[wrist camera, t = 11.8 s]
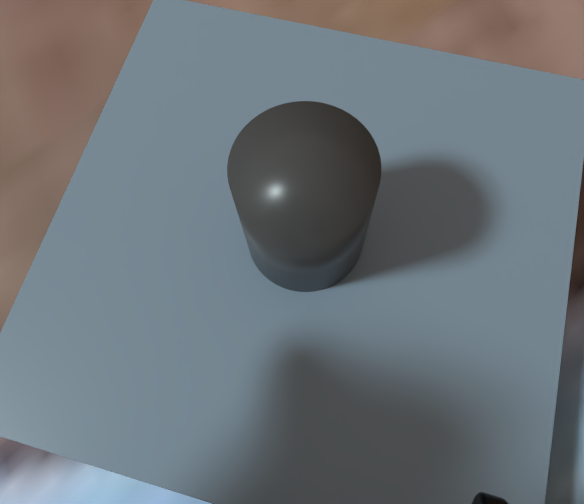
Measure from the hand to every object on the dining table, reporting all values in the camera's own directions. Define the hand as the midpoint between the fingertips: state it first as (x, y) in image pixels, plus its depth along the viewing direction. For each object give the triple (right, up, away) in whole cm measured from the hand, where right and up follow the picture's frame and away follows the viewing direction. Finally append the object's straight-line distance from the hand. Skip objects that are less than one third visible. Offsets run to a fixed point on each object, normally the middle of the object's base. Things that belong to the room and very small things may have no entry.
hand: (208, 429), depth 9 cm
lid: (+2, +3, +9) cm, 10 cm away
